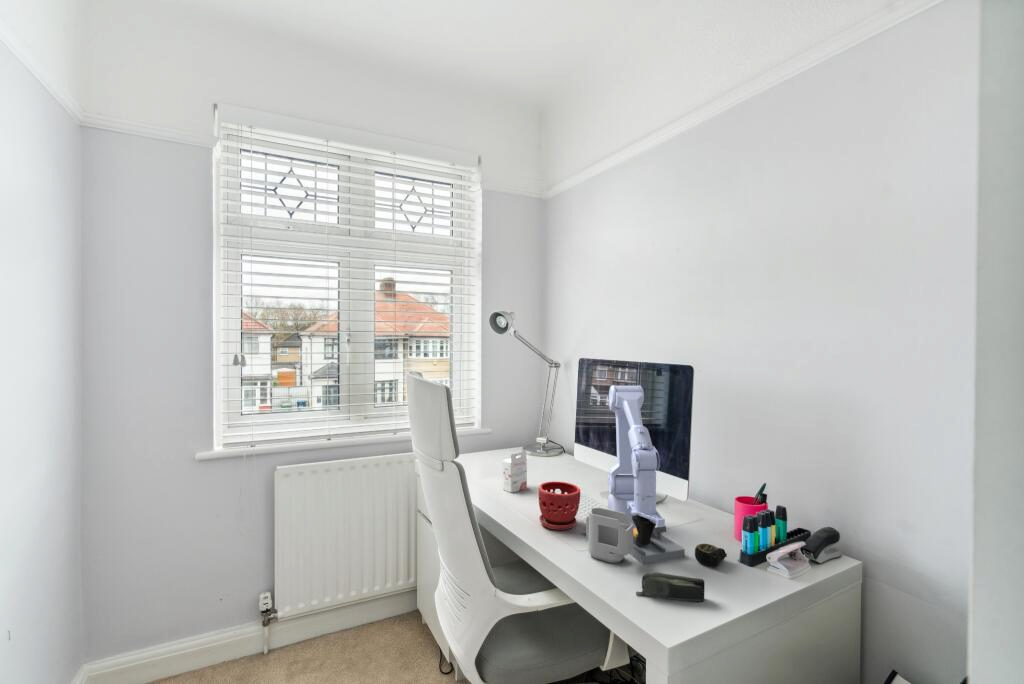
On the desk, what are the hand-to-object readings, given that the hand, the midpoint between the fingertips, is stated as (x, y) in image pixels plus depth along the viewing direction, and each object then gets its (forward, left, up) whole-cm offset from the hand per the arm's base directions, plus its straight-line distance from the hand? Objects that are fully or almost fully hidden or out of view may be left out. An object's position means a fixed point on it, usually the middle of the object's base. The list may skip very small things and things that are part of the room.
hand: (644, 543), depth 127 cm
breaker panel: (-4, +3, -3) cm, 6 cm away
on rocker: (-6, +7, +1) cm, 9 cm away
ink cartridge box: (-63, -16, -3) cm, 65 cm away
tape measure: (+9, +14, -3) cm, 17 cm away
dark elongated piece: (+19, -7, -3) cm, 21 cm away
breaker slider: (-3, 0, -1) cm, 3 cm away
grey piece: (-1, -10, -3) cm, 10 cm away
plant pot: (-26, -14, -3) cm, 30 cm away
